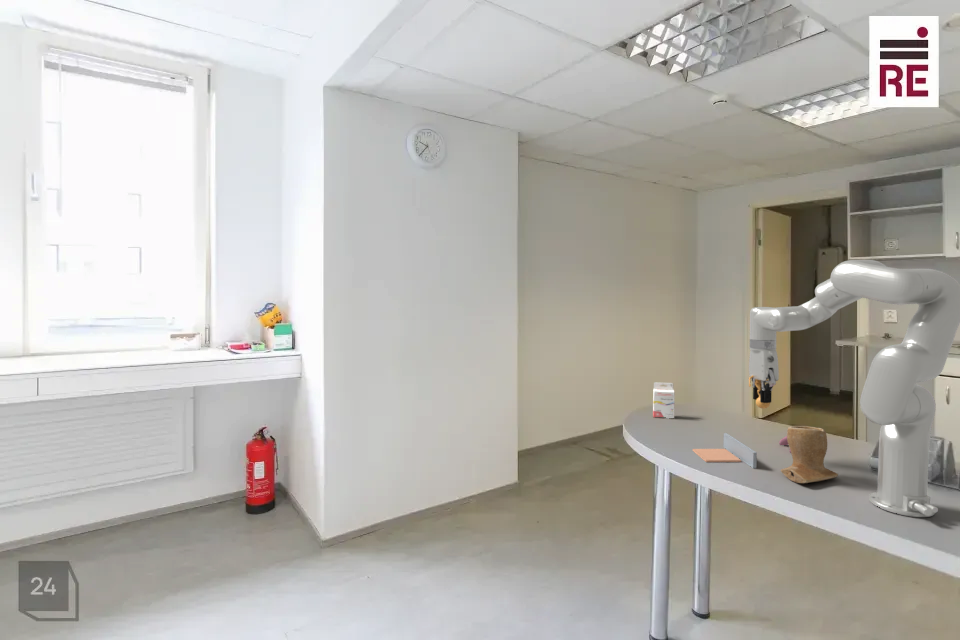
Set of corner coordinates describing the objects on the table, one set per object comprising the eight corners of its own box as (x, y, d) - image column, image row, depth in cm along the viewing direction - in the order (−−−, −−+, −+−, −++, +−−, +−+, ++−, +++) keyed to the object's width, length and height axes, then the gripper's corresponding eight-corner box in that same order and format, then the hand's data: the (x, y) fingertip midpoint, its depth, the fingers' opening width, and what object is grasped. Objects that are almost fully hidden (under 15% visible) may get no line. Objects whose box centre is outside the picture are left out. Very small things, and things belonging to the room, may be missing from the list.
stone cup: (805, 466, 150) (806, 419, 149) (844, 481, 139) (846, 429, 138) (768, 473, 146) (769, 424, 145) (805, 489, 134) (807, 436, 133)
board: (741, 462, 155) (741, 460, 155) (706, 462, 156) (706, 460, 156) (725, 450, 166) (725, 448, 166) (692, 450, 167) (692, 448, 167)
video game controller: (802, 459, 161) (813, 441, 160) (789, 452, 162) (800, 434, 161) (789, 449, 171) (799, 432, 170) (777, 443, 171) (787, 426, 170)
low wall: (756, 468, 150) (756, 452, 149) (753, 468, 150) (753, 452, 149) (726, 447, 170) (726, 433, 169) (723, 447, 170) (723, 433, 169)
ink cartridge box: (653, 417, 209) (653, 384, 208) (652, 414, 213) (652, 381, 212) (674, 419, 206) (674, 384, 205) (673, 416, 211) (673, 382, 210)
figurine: (756, 411, 155) (758, 374, 154) (742, 406, 161) (743, 370, 160) (778, 408, 157) (779, 372, 156) (763, 404, 163) (764, 369, 162)
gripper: (789, 347, 148) (788, 406, 150) (760, 342, 165) (760, 395, 166) (764, 348, 149) (764, 407, 150) (738, 342, 165) (737, 395, 166)
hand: (762, 400), depth 158 cm, fingers closed on figurine, 3 cm apart
